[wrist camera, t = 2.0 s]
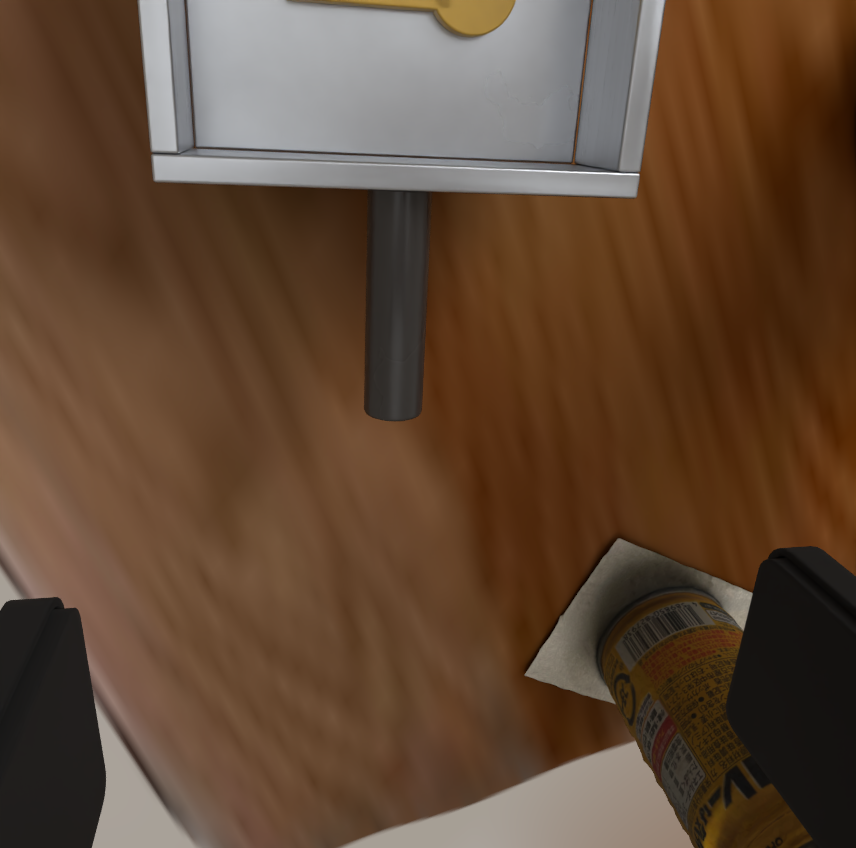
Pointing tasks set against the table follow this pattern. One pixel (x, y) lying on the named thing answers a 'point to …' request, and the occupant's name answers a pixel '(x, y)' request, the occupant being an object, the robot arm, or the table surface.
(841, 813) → the robot arm
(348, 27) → the scoop
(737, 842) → the condiment
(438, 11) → the key
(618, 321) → the table surface
